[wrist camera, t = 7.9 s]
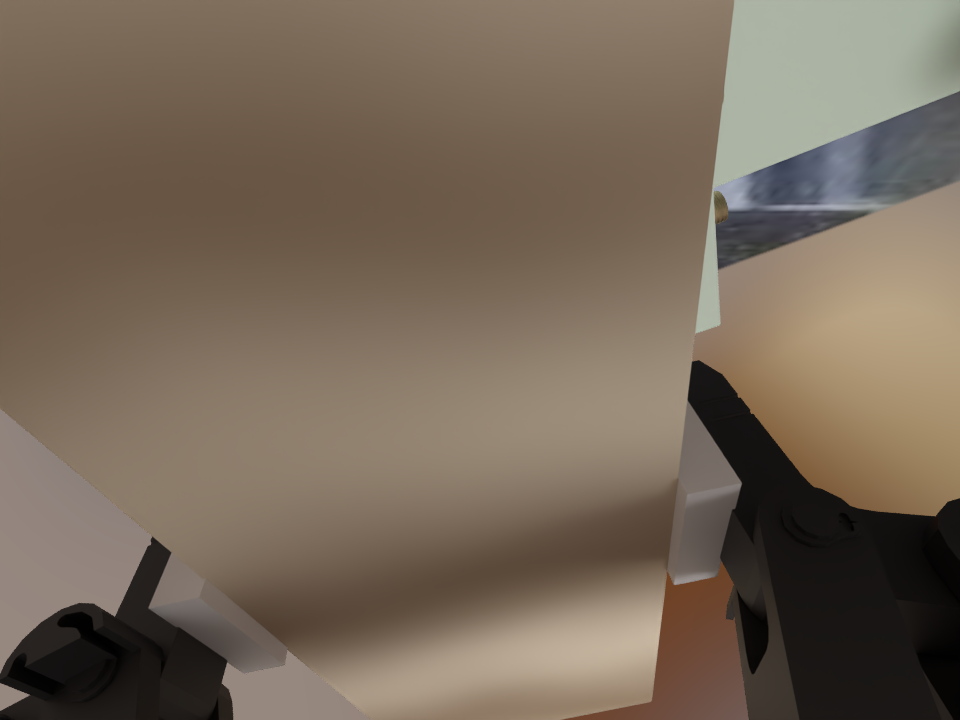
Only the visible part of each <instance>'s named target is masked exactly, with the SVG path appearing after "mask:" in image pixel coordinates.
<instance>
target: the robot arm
mask: <svg viewBox="0 0 960 720" xmlns="http://www.w3.org/2000/svg"><path fill="white" fill-rule="evenodd" d="M721 561H722V562H723V564H724V566H725V568H726V570H727V572H728V574H729V576H730V577H731V579H732V581H733V583H734V586H733V588H732V592H731V595H730V598H729V601H728V604H727V612H726V619H730V620H733V619H734V617H735V623H736V631H737V638H738V645H739V652H740V659H741V667H742V674H743V681H744V687H745V695H746V702H747V709H748V717H749V720H960V498H959V499H956V500H952V501H949V502H947V503H946V505H945V506H944V507H943V508H942V509H941V510H940V512H939V513H938V514H937V515H936V517H935V516H923V515H910V514H900V513H888V512H876V511H869V510H864V509H858V508H855V507H852V506H849V505H848V504H847V503H846V502H845V501H844V500H842V499H841V498H839V497H837V496H835V495H833V494H831V493H829V492H827V491H825V490H823V489H820V488H815V487H813V486H812V485H811V484H810V483H809V482H808V481H807V480H806V479H805V478H804V477H803V476H802V475H801V474H800V473H799V471H798V470H797V469H796V468H795V466H794V465H793V463H792V462H791V461H790V460H789V458H788V457H787V456H786V455H785V453H784V452H783V451H782V450H781V448H780V447H779V446H778V444H777V443H776V442H775V441H774V439H772V437H771V436H770V434H769V433H768V432H767V431H766V429H765V428H764V427H763V426H762V425H761V423H760V422H759V420H758V419H757V418H756V417H755V415H754V414H751V413H750V409H749V408H748V407H747V405H746V404H745V403H744V401H743V400H742V399H741V398H738V395H737V393H736V391H735V390H734V389H733V388H732V386H731V385H730V384H729V383H728V381H727V380H726V379H725V378H724V376H723V375H722V374H721V373H719V372H717V371H716V370H714V369H712V368H711V367H709V366H708V365H706V364H704V363H703V362H701V361H699V360H698V361H694V362H692V364H691V373H690V381H689V390H688V398H687V407H686V415H685V424H684V432H683V441H682V449H681V457H680V466H679V474H678V483H677V491H676V500H675V508H674V517H673V525H672V534H671V542H670V551H669V559H668V567H667V570H668V572H669V575H670V577H671V579H672V581H673V584H674V585H677V584H682V583H687V582H692V581H696V580H702V579H706V578H712V577H716V576H717V575H718V572H719V568H720V564H721ZM287 649H288V648H287V647H286V646H285V645H284V644H283V643H282V642H280V641H279V640H278V639H277V638H276V637H275V636H273V635H272V634H271V633H270V632H269V631H267V630H266V629H265V628H264V627H263V626H262V625H260V624H259V623H258V622H257V621H256V620H254V619H253V618H252V617H251V616H250V615H249V614H247V613H246V612H245V611H244V610H243V609H242V608H240V607H239V606H238V605H237V604H236V603H234V602H233V601H232V600H231V599H230V598H229V597H227V596H226V595H225V594H224V593H223V592H222V591H220V590H219V589H218V588H217V587H216V586H214V585H213V584H212V583H211V582H210V581H209V580H207V579H206V578H204V579H203V578H201V577H200V576H199V575H198V574H197V573H195V572H194V571H193V570H192V569H191V568H190V567H188V566H187V565H186V564H185V563H184V562H182V561H181V560H180V559H179V558H178V557H176V556H175V555H174V554H173V553H172V552H170V551H169V550H168V549H167V548H166V547H164V546H163V545H162V544H161V543H160V542H159V541H157V540H156V539H155V538H154V537H153V536H152V538H151V545H150V546H148V547H147V550H146V552H145V554H144V556H143V558H142V560H141V562H140V564H139V567H138V569H137V571H136V573H135V575H134V577H133V579H132V582H131V584H130V586H129V588H128V590H127V592H126V595H125V597H124V599H123V601H122V603H121V605H120V607H119V609H118V612H117V614H116V616H115V617H114V616H113V615H111V614H109V613H108V612H106V611H105V610H103V609H101V608H100V607H98V606H96V605H95V604H89V603H78V604H75V605H72V606H70V607H67V608H64V609H61V610H60V611H58V612H57V613H55V614H53V615H52V616H50V617H49V618H48V619H46V620H44V621H43V622H41V623H40V624H39V625H38V626H37V627H36V628H35V629H34V630H32V631H31V632H30V633H29V634H28V635H27V636H26V637H25V638H24V639H23V640H22V641H21V642H20V644H19V645H18V646H17V648H16V649H15V650H14V652H13V653H12V654H11V655H10V657H9V658H8V659H7V661H6V663H5V665H4V667H3V669H2V671H1V673H0V683H2V684H4V685H7V686H9V687H12V688H14V689H17V690H20V691H22V692H24V693H27V694H30V696H28V697H26V698H24V699H22V700H21V701H19V702H17V703H15V704H13V705H11V706H9V707H7V708H5V709H3V710H2V711H0V720H233V707H232V699H231V696H230V693H229V690H228V689H227V688H226V687H225V686H224V685H223V684H222V679H223V675H224V671H225V668H226V664H227V662H228V663H229V664H231V665H232V666H234V667H235V668H236V669H238V670H239V671H241V672H242V673H249V672H253V671H258V670H263V669H268V668H273V667H278V666H283V665H285V659H286V654H287Z"/></svg>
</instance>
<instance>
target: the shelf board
mask: <svg viewBox="0 0 960 720" xmlns="http://www.w3.org/2000/svg"><path fill="white" fill-rule="evenodd" d="M734 1H735V0H0V409H1V410H2V411H4V412H5V413H6V414H7V415H8V416H10V417H11V418H12V419H13V420H14V421H16V422H17V423H18V424H19V425H20V426H22V427H23V428H24V429H25V430H26V431H27V432H29V433H30V434H31V435H32V436H33V437H35V438H36V439H37V440H38V441H39V442H41V443H42V444H43V445H44V446H45V447H47V448H48V449H49V450H50V451H51V452H52V453H54V454H55V455H56V456H58V458H60V459H61V460H62V461H63V462H64V463H66V464H67V465H68V466H69V467H70V468H72V469H73V470H74V471H75V472H76V473H78V474H79V475H80V476H81V477H82V478H83V479H85V480H86V481H87V482H88V483H89V484H91V485H92V486H93V487H94V488H95V489H97V490H98V491H99V492H100V493H101V494H103V495H104V496H105V497H106V498H107V499H108V500H110V501H111V502H112V503H113V504H115V505H116V506H117V507H118V508H119V509H120V510H122V511H123V512H124V513H125V514H126V515H128V516H129V517H130V518H131V519H132V520H134V521H135V522H136V523H137V524H138V525H139V526H141V527H142V528H143V529H144V530H146V531H147V532H148V533H149V534H150V535H151V536H153V537H154V538H155V539H156V540H157V541H159V542H160V543H161V544H162V545H163V546H164V547H166V548H167V549H168V550H169V551H170V552H172V553H173V554H174V555H175V556H176V557H178V558H179V559H180V560H181V561H182V562H184V563H185V564H186V565H187V566H188V567H190V568H191V569H192V570H193V571H194V572H195V573H197V574H198V575H199V576H200V577H201V578H203V579H204V578H206V579H207V580H209V581H210V582H211V583H212V584H213V585H214V586H216V587H217V588H218V589H219V590H220V591H222V592H223V593H224V594H225V595H226V596H227V597H229V598H230V599H231V600H232V601H233V602H234V603H236V604H237V605H238V606H239V607H240V608H242V609H243V610H244V611H245V612H246V613H247V614H249V615H250V616H251V617H252V618H253V619H254V620H256V621H257V622H258V623H259V624H260V625H262V626H263V627H264V628H265V629H266V630H267V631H269V632H270V633H271V634H272V635H273V636H275V637H276V638H277V639H278V640H279V641H280V642H282V643H283V644H284V645H285V646H286V647H287V648H288V649H287V650H289V651H290V652H291V653H292V654H293V655H294V656H296V657H297V658H298V659H299V660H300V661H302V662H303V663H304V664H305V665H306V666H308V667H309V668H310V669H311V670H312V671H314V672H315V673H316V674H317V675H318V676H319V677H321V678H322V679H323V680H324V681H325V682H327V683H328V684H329V685H330V686H331V687H333V688H334V689H335V690H336V691H337V692H338V693H340V694H341V695H342V696H343V697H344V698H346V699H347V700H348V701H349V702H350V703H352V704H353V705H354V706H355V707H356V708H358V709H359V710H360V711H361V712H362V713H364V714H365V715H366V716H367V717H368V718H369V719H371V720H561V719H566V718H571V717H576V716H581V715H586V714H591V713H596V712H602V711H607V710H611V709H617V708H621V707H626V706H632V705H637V704H642V703H646V702H652V694H653V686H654V677H655V668H656V660H657V652H658V643H659V635H660V626H661V618H662V610H663V601H664V593H665V584H666V576H667V567H668V559H669V551H670V542H671V534H672V525H673V517H674V508H675V500H676V491H677V483H678V474H679V466H680V457H681V449H682V441H683V432H684V424H685V415H686V407H687V398H688V390H689V381H690V373H691V364H692V356H693V347H694V339H695V331H696V322H697V314H698V305H699V297H700V288H701V280H702V271H703V263H704V254H705V246H706V237H707V229H708V221H709V212H710V204H711V195H712V187H713V178H714V170H715V161H716V153H717V144H718V136H719V127H720V119H721V111H722V102H723V94H724V85H725V77H726V68H727V60H728V51H729V43H730V34H731V26H732V18H733V9H734Z"/></svg>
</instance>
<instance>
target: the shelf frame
mask: <svg viewBox="0 0 960 720" xmlns="http://www.w3.org/2000/svg"><path fill="white" fill-rule="evenodd" d="M959 91H960V0H735V1H734V9H733V18H732V26H731V34H730V43H729V51H728V60H727V68H726V77H725V85H724V94H723V102H722V111H721V119H720V127H719V136H718V144H717V153H716V161H715V170H714V178H713V187H712V195H711V204H710V212H709V221H708V229H707V237H706V246H705V254H704V263H703V271H702V280H701V288H700V297H699V305H698V314H697V322H696V331H695V334H696V333H699V332H701V331H704V330H707V329H710V328H712V327H715V326H718V325H720V308H719V288H718V269H717V250H716V231H715V224H718V223H720V222H723V221H725V220H726V219H727V217H728V207H727V203H726V200H725V198H724V197H723V195H722V194H721V193H720V192H719V191H715V192H713V188H714V187H717V186H719V185H722V184H725V183H727V182H730V181H732V180H735V179H737V178H740V177H742V176H745V175H747V174H750V173H753V172H755V171H758V170H760V169H763V168H765V167H768V166H770V165H773V164H775V163H778V162H781V161H783V160H786V159H788V158H791V157H793V156H796V155H798V154H801V153H803V152H806V151H809V150H811V149H814V148H816V147H819V146H821V145H824V144H826V143H829V142H831V141H834V140H836V139H839V138H842V137H844V136H847V135H849V134H852V133H854V132H857V131H859V130H862V129H864V128H867V127H870V126H872V125H875V124H877V123H880V122H882V121H885V120H887V119H890V118H892V117H895V116H898V115H900V114H903V113H905V112H908V111H910V110H913V109H915V108H918V107H920V106H923V105H926V104H928V103H931V102H933V101H936V100H938V99H941V98H943V97H946V96H948V95H951V94H953V93H956V92H959Z"/></svg>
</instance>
